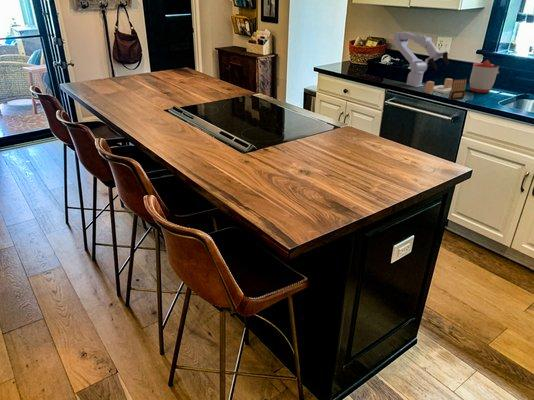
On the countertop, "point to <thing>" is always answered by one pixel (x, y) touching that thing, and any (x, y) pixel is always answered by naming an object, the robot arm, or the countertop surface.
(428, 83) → the jaw block
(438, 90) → the housing
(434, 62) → the robot arm
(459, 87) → the ammunition clip
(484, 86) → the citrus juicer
